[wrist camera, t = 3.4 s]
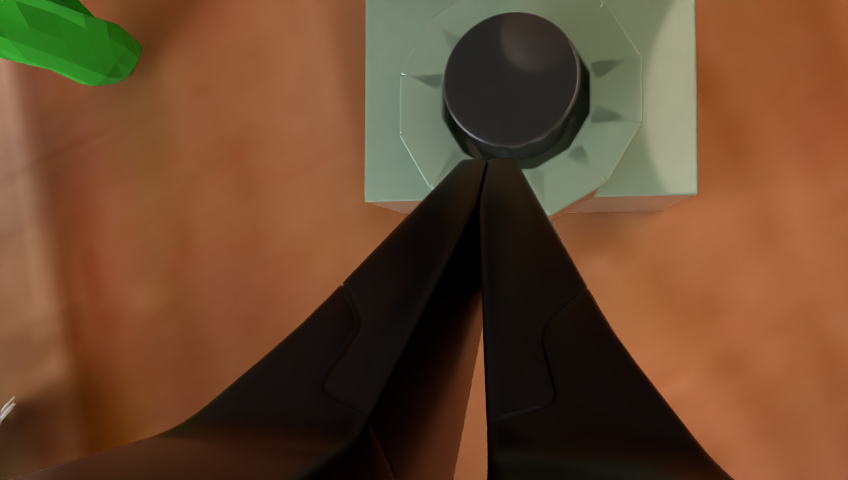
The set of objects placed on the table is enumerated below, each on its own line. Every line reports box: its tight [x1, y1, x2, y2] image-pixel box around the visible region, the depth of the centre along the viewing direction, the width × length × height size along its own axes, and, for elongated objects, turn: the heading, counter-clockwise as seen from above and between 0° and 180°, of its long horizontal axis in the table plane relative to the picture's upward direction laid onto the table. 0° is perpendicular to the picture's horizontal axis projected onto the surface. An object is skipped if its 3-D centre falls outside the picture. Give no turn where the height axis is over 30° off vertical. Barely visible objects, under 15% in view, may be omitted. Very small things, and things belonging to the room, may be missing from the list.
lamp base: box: [365, 0, 698, 220], centre depth 18 cm, size 12×9×7 cm
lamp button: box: [443, 12, 580, 160], centre depth 14 cm, size 3×3×2 cm
